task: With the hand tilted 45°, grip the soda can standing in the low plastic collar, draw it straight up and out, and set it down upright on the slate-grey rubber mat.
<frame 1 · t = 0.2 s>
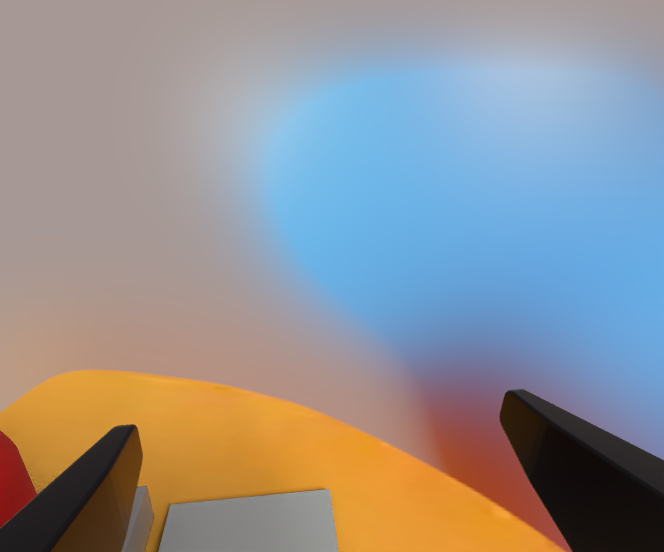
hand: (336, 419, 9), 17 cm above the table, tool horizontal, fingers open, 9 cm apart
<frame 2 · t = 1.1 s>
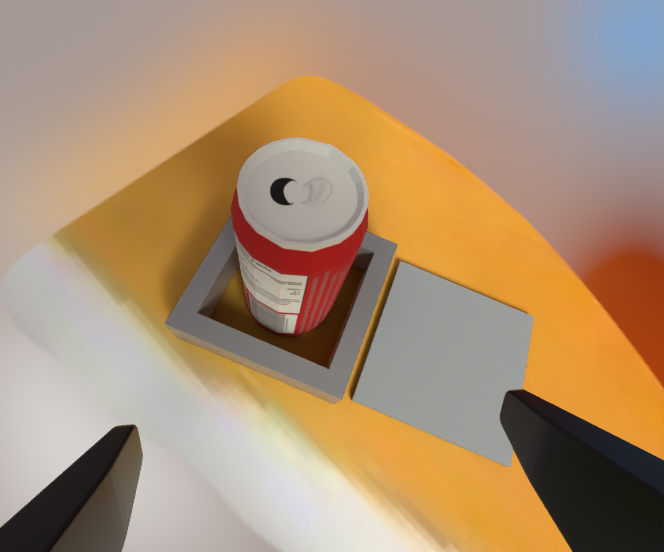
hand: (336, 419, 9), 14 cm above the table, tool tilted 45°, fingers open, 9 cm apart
soda can: (289, 297, 25), resting in collar
mat: (447, 355, 25), on the table
collar: (289, 296, 25), on the table
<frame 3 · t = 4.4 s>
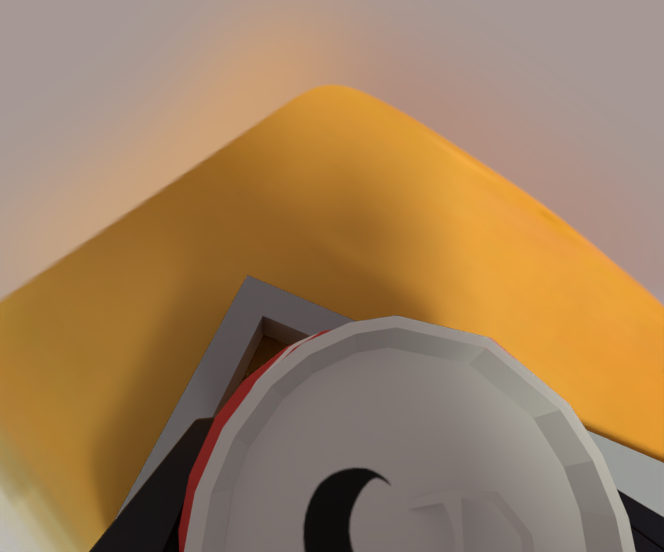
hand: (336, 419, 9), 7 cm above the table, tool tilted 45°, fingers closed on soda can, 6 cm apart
soda can: (312, 464, 15), resting in collar, touching gripper
collar: (312, 464, 15), on the table
when the fingers open (8 cm above the table, at t = 9.9 s): soda can stays where it is, resting on mat.
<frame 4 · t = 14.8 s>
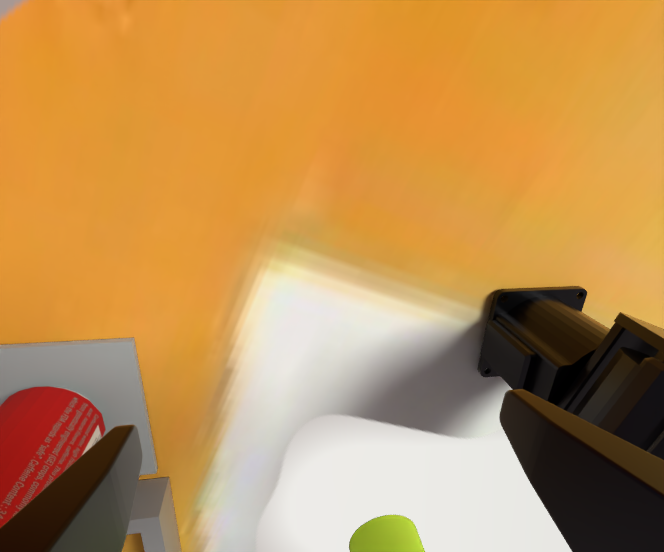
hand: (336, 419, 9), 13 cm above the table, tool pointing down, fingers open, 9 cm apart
soap dispenser: (387, 537, 32), on the table
soda can: (57, 417, 22), resting on mat
mat: (56, 415, 22), on the table
collar: (100, 538, 27), on the table
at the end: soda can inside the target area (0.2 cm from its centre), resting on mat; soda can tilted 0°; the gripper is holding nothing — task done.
